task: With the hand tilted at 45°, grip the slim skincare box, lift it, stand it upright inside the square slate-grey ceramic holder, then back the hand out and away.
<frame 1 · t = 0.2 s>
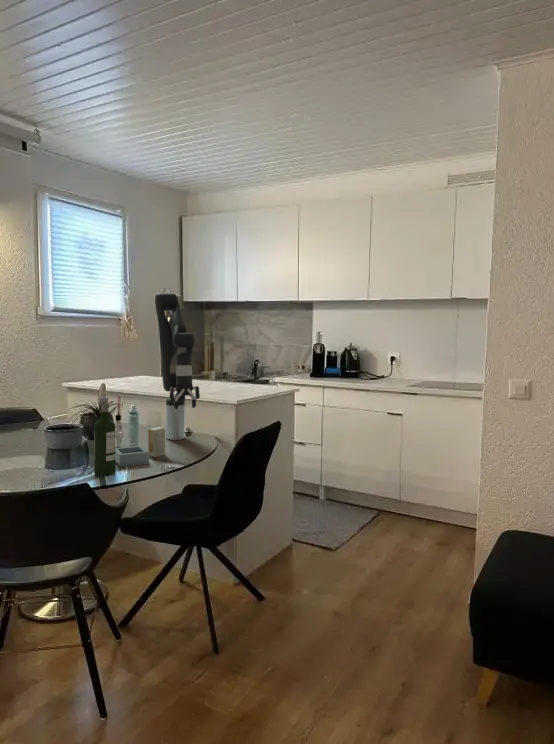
hand: (184, 408, 259), 18 cm above the table, tool pointing down, fingers open, 8 cm apart
ceramic holder: (130, 461, 228), on the table
wine bottle: (105, 473, 211), on the table
skincare box: (156, 455, 239), on the table
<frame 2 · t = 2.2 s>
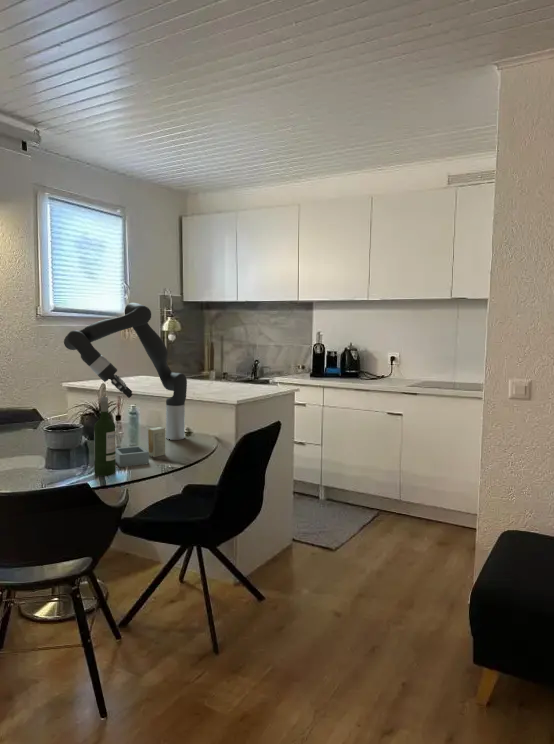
hand: (130, 395, 233), 27 cm above the table, tool tilted 45°, fingers open, 8 cm apart
nothing on the table moved.
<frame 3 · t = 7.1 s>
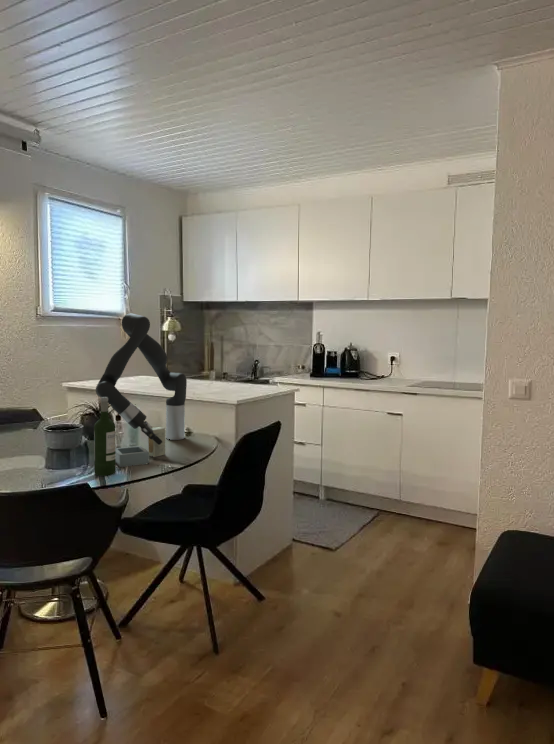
hand: (160, 441, 239), 6 cm above the table, tool tilted 45°, fingers closed on skincare box, 6 cm apart
skincare box: (156, 455, 239), on the table, touching gripper
everything else where it was.
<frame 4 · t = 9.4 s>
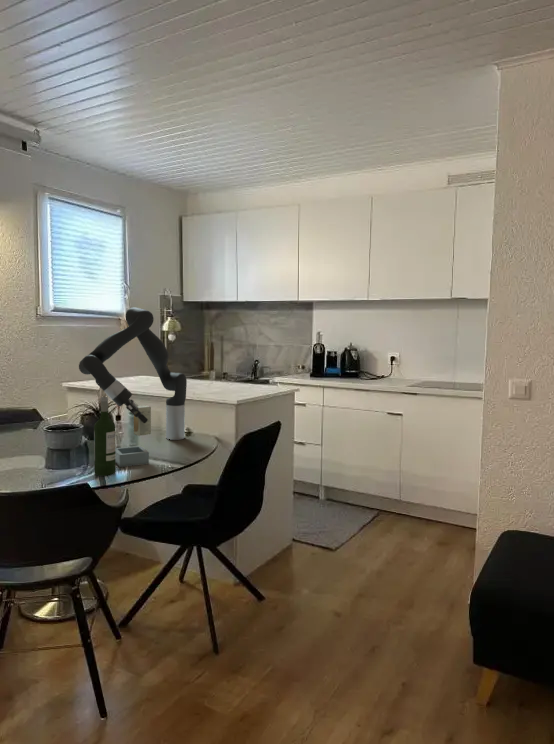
hand: (146, 420, 231), 17 cm above the table, tool tilted 45°, fingers closed on skincare box, 6 cm apart
skincare box: (142, 434, 231), point 11 cm above the table, touching gripper
everything else where it was.
when the fingers open (8 cm above the table, at t = 11.9 s): skincare box drops 1 cm, resting on ceramic holder.
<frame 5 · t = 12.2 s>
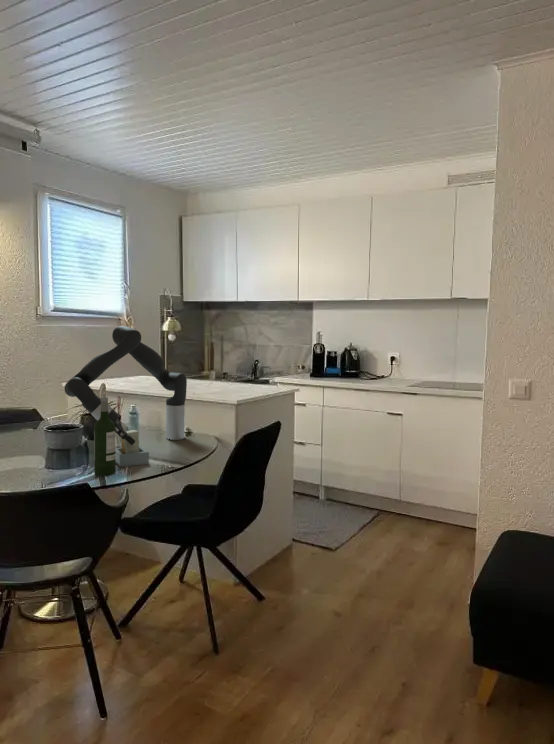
hand: (133, 440, 227), 9 cm above the table, tool tilted 45°, fingers open, 8 cm apart
skincare box: (130, 460, 227), point 1 cm above the table, touching ceramic holder
everything else where it was.
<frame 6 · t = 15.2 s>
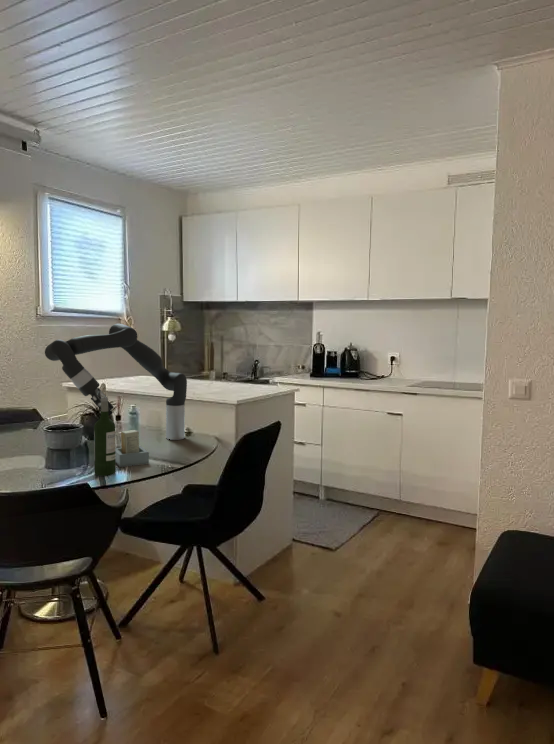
hand: (111, 411, 223), 22 cm above the table, tool tilted 40°, fingers open, 8 cm apart
nothing on the table moved.
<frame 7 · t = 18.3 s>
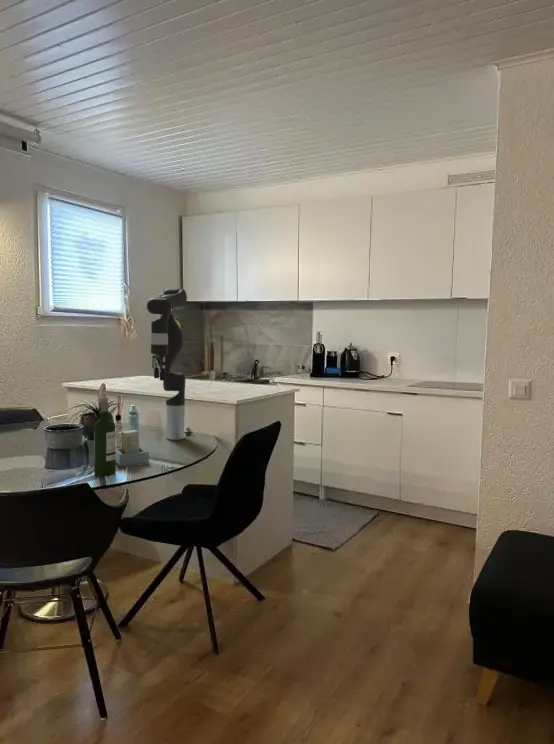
hand: (159, 379, 242), 33 cm above the table, tool pointing down, fingers open, 8 cm apart
nothing on the table moved.
at the end: skincare box 0.4 cm off-centre on the ceramic holder, point 0.8 cm above the ceramic holder's base; skincare box tilted 0°; the gripper is holding nothing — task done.
